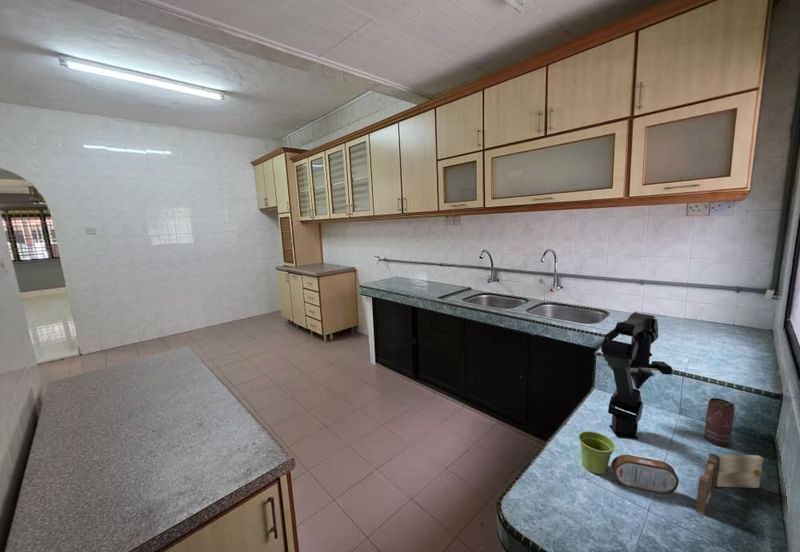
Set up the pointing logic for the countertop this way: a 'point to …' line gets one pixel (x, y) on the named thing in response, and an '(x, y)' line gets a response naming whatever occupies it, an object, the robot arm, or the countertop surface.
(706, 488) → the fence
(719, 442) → the can
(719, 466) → the panel
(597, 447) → the plant pot
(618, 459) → the tin
